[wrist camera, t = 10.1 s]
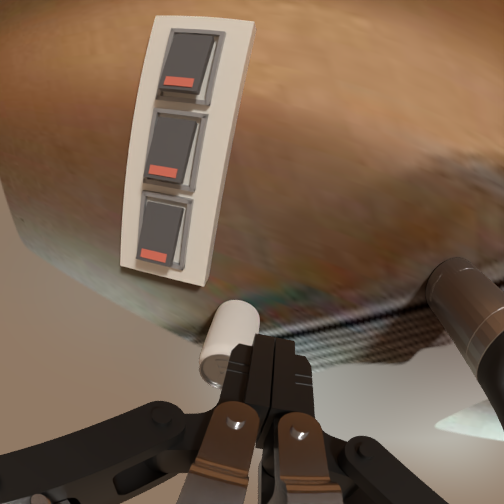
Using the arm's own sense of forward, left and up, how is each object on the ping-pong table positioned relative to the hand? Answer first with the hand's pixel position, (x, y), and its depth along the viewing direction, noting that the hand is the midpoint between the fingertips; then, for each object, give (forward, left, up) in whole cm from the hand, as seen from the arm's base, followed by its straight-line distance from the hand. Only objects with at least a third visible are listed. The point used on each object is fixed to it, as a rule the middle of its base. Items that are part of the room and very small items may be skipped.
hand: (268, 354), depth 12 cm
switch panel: (+13, -4, -29) cm, 32 cm away
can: (+2, +18, -29) cm, 34 cm away
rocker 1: (+13, -14, -24) cm, 31 cm away
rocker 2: (+13, -4, -24) cm, 28 cm away
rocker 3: (+13, +6, -24) cm, 28 cm away
